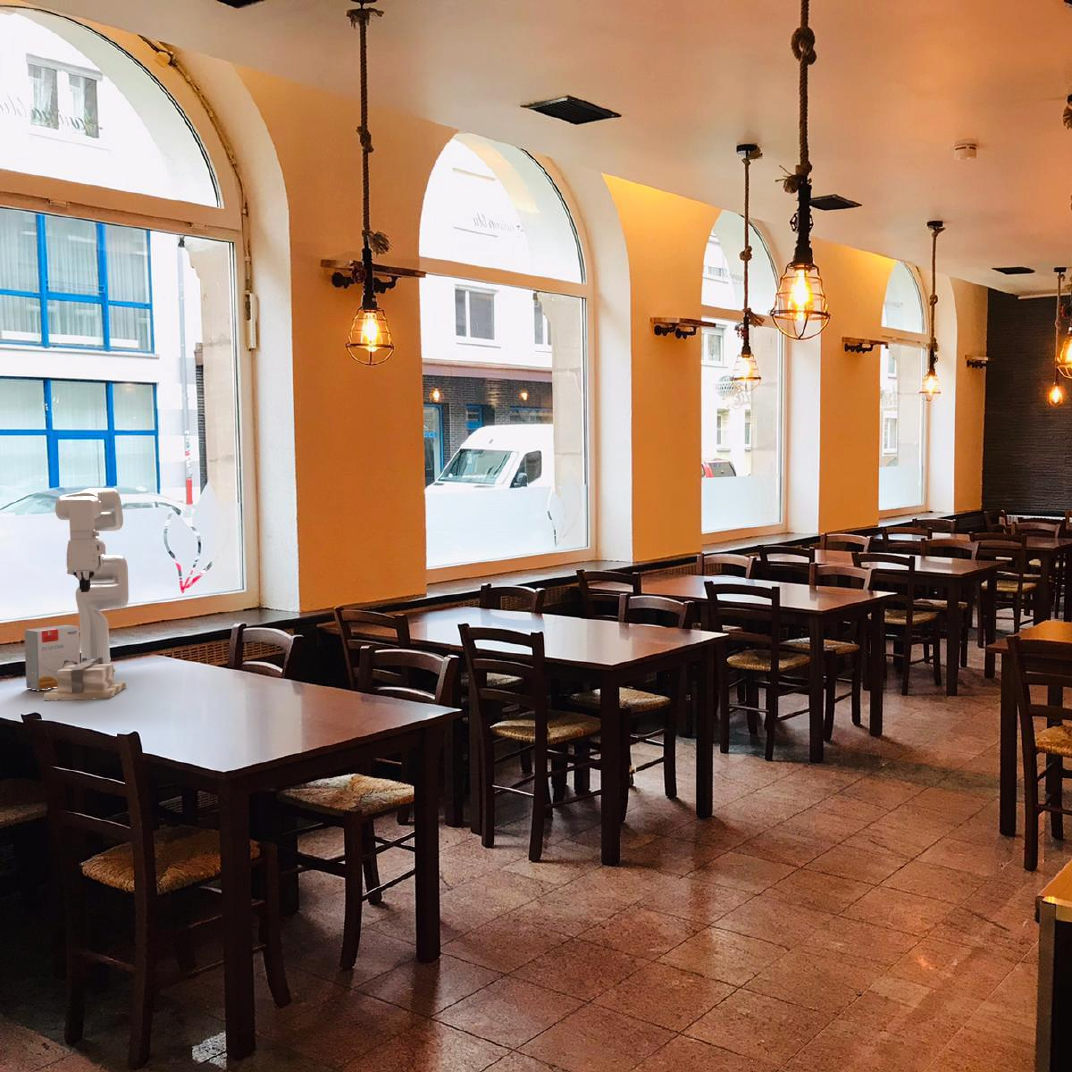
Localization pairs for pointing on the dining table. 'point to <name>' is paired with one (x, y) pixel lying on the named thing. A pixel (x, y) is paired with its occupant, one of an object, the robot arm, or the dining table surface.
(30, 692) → the dining table surface
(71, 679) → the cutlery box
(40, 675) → the hard drive box
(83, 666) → the latch bar
